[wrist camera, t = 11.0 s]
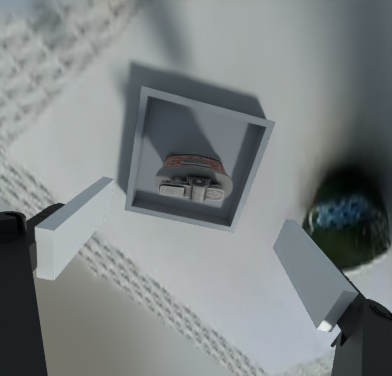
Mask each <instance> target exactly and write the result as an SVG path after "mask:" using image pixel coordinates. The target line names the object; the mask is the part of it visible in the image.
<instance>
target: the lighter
mask: <svg viewBox="0 0 392 376" xmlns="http://www.w3.org/2000/svg"><path fill="white" fill-rule="evenodd" d="M155 185H156V187H157V189H158V192H159V194H161V195H167V196H176V197H183V198H188V199H189V200H191V201H193V202H198V203H201V202H204V201H206V200H213V201H221V200H223V198H226V197H228V196H229V195H230V194H231V192H232V189H233V183H232V180H231V178H230V177H229V175H227V174H226V172H225V170H224V164H223V162H222V161H221V160H220V159H219V158H216V157H213V156H210V155H206V154H201V153H196V152H174V153H169V154H168V155H167V156H166V157H165V159H164V163H163V166H162V168H161V169H159V170H158V172H157V174H156V175H155Z"/></svg>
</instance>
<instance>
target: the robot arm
mask: <svg viewBox="0 0 392 376" xmlns="http://www.w3.org/2000/svg"><path fill="white" fill-rule="evenodd" d="M113 186H114V179H111V178H107V177H102V178H101V179H100V180H98V181H97V182H95V183H94V184H93V185H91V186H90V187H89V188H87V189H86V190H84V191H83V192H82V193H80V194H79V195H78V196H76V197H75V198H74V199H72V200H71V201H69V202H68V203H67V204H62V203H57V204H54V205H51V206H49V207H47V208H46V209H44V210H43V211H42V212H40V213H38V214H36V216H33V217H32V218H30V219H29V220H27V221H26V217H25V215H24V214H22V213H20V212H14V211H5V212H0V376H48V375H47V368H46V361H45V354H44V347H43V341H42V334H41V327H40V320H39V313H38V306H37V299H36V292H35V286H34V279H33V273H32V272H33V271H34V270H35V268H36V269H37V277H38V278H43V279H48V280H55V279H56V278H57V276H58V275H59V274H60V273H61V272H62V270H63V269H64V268H65V267H66V265H67V264H68V263H69V262H70V261H71V260H72V258H73V257H74V256H75V255H76V253H77V252H78V251H79V250H80V249H81V247H82V246H83V245H84V244H85V243H86V241H87V240H88V239H89V238H90V237H91V235H92V234H93V233H94V232H95V231H96V229H97V228H98V227H99V226H100V225H101V223H102V222H103V221H104V220H105V219H106V217H107V216H108V215H109V214H110V213H111V204H112V195H113ZM273 249H274V250H275V252H276V254H277V256H278V258H279V260H280V262H281V263H282V265H283V267H284V269H285V271H286V273H287V275H288V276H289V278H290V280H291V282H292V284H293V286H294V288H295V289H296V291H297V293H298V295H299V297H300V299H301V301H302V302H303V304H304V306H305V308H306V310H307V312H308V314H309V315H310V317H311V319H312V321H313V323H314V325H315V327H316V328H317V330H323V331H328V332H331V331H332V330H333V328H334V327H335V325H336V324H337V325H338V326H339V328H340V329H341V332H340V333H339V335H338V336H337V337H336V339H335V340H334V341H333V343H332V344H331V347H334V346H335V345H336V350H335V356H334V362H333V368H332V374H331V376H392V313H391V312H390V311H389V310H388V309H387V308H385V307H384V306H382V305H381V304H379V303H377V302H375V301H373V300H370V299H366V298H365V297H364V296H363V295H362V293H361V292H360V291H359V290H358V289H357V288H356V287H355V286H354V284H353V283H352V282H351V281H349V279H348V278H347V276H345V275H344V273H343V272H342V271H341V270H340V269H339V267H337V266H336V265H335V264H334V263H332V262H331V261H330V260H329V259H328V257H327V256H326V255H325V254H324V253H323V252H322V251H321V249H320V248H319V247H318V246H317V245H316V244H315V242H314V241H313V240H312V239H311V238H310V237H309V236H308V234H307V233H306V232H305V231H304V230H303V229H302V227H301V226H300V225H299V224H298V223H297V222H296V221H294V220H290V219H286V221H285V223H284V225H283V227H282V229H281V231H280V234H279V236H278V238H277V240H276V242H275V244H274V247H273Z"/></svg>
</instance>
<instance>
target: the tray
mask: <svg viewBox="0 0 392 376" xmlns="http://www.w3.org/2000/svg"><path fill="white" fill-rule="evenodd" d="M274 124H275V122H274V121H270V120H266V119H263V118H259V117H255V116H252V115H248V114H244V113H240V112H237V111H233V110H229V109H226V108H222V107H218V106H214V105H211V104H207V103H203V102H200V101H196V100H192V99H189V98H185V97H181V96H177V95H174V94H170V93H166V92H163V91H159V90H155V89H151V88H148V87H144V86H141V93H140V100H139V108H138V115H137V122H136V130H135V137H134V145H133V152H132V159H131V167H130V174H129V181H128V189H127V196H126V203H125V210H127V211H132V212H137V213H142V214H146V215H151V216H156V217H161V218H165V219H170V220H175V221H180V222H185V223H189V224H194V225H199V226H204V227H209V228H213V229H218V230H223V231H228V232H232V233H234V232H235V229H236V227H237V224H238V221H239V219H240V216H241V213H242V211H243V208H244V205H245V202H246V200H247V197H248V194H249V192H250V189H251V186H252V184H253V181H254V178H255V176H256V173H257V170H258V168H259V165H260V162H261V159H262V157H263V154H264V151H265V149H266V146H267V143H268V141H269V138H270V135H271V133H272V130H273V127H274ZM174 152H196V153H201V154H206V155H210V156H213V157H216V158H219V159H220V160H221V161H222V162H223V164H224V170H225V172H226V174H227V175H229V177H230V178H231V180H232V183H233V189H232V192H231V194H230V195H229V196H228V197H226V198H223V200H221V201H213V200H206V201H204V202H201V203H198V202H193V201H191V200H189V199H188V198H183V197H176V196H167V195H161V194H159V192H158V189H157V187H156V185H155V175H156V174H157V172H158V170H159V169H161V168H162V166H163V163H164V159H165V157H166V156H167V155H168V154H169V153H174Z"/></svg>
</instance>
